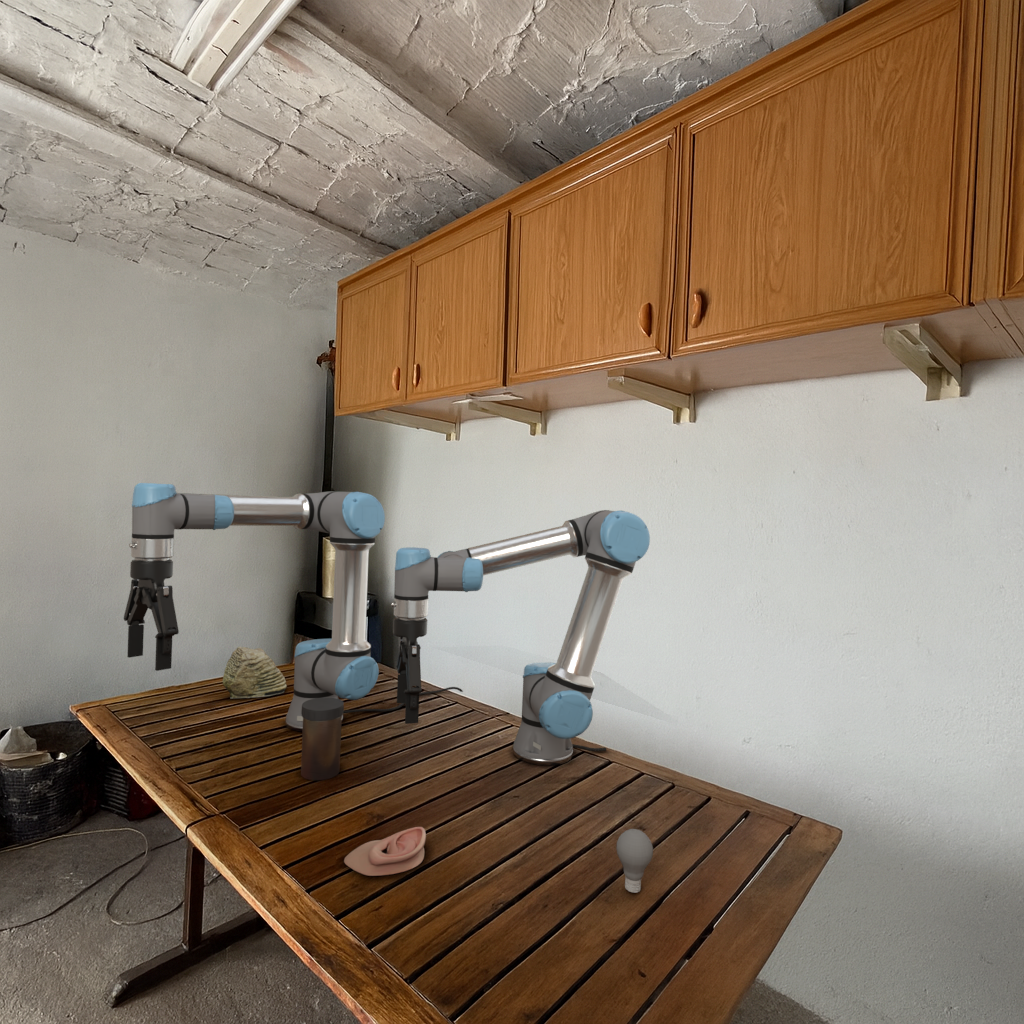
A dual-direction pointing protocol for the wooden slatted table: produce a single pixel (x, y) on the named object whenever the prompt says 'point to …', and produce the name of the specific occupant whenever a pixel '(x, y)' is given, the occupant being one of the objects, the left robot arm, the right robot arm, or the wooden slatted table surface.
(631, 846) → the light bulb
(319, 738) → the jar
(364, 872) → the anatomical model
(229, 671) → the fossil
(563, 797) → the wooden slatted table surface
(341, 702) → the lid
